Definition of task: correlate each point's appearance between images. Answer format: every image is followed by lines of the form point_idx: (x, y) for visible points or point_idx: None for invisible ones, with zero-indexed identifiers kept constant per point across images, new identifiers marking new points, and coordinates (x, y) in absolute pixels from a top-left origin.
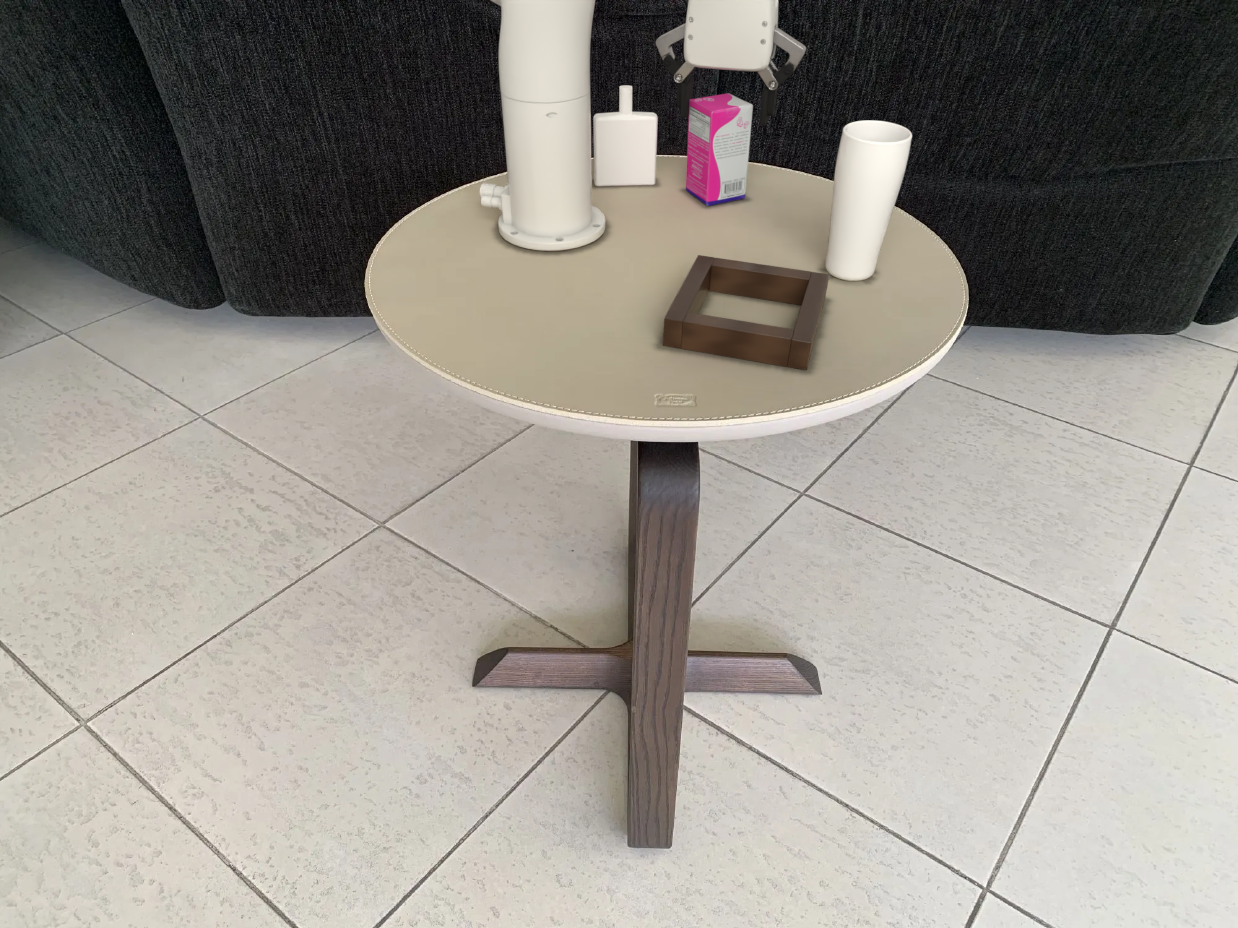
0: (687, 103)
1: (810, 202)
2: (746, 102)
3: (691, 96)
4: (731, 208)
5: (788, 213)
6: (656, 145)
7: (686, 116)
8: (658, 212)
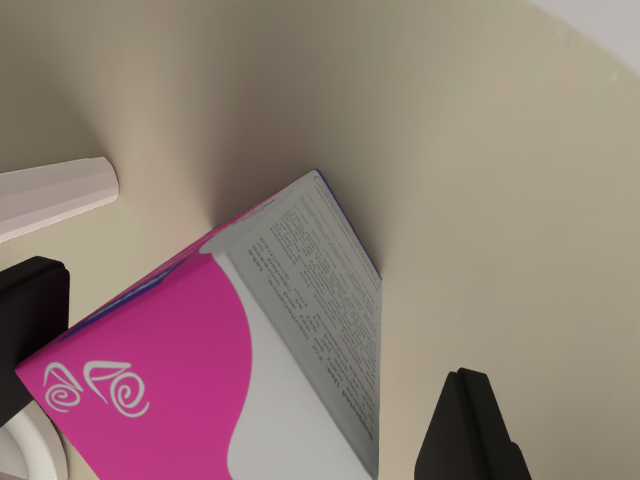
0: (18, 396)
1: (580, 285)
2: (340, 446)
3: (9, 320)
4: None
5: (496, 358)
6: (38, 221)
7: None
8: None
